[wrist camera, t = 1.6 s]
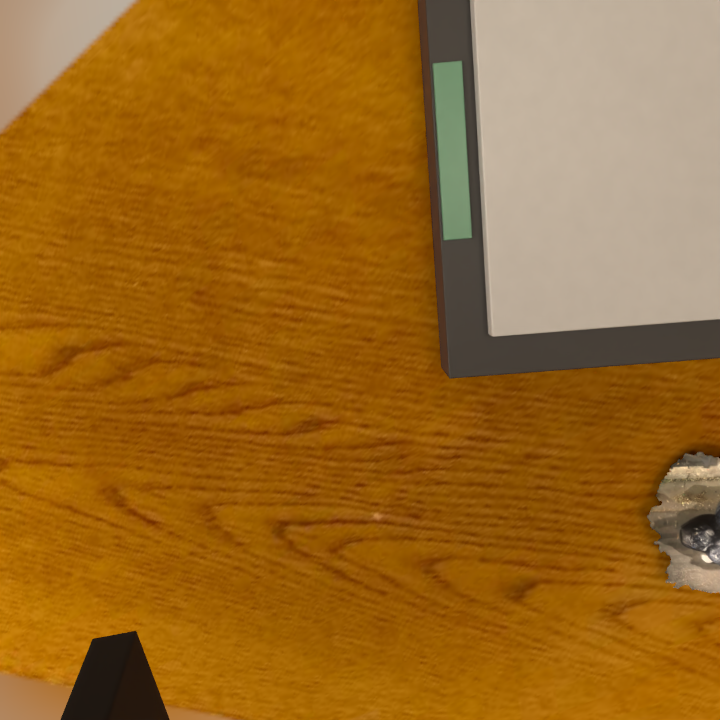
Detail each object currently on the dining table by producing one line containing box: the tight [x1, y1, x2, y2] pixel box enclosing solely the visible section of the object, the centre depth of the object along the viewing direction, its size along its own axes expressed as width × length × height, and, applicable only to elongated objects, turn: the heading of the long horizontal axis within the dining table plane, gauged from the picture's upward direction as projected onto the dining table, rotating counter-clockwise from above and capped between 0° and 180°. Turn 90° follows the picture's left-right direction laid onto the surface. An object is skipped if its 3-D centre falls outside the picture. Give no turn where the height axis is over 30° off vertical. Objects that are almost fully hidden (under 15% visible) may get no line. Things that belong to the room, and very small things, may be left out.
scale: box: [418, 0, 720, 378], centre depth 25 cm, size 16×16×4 cm
